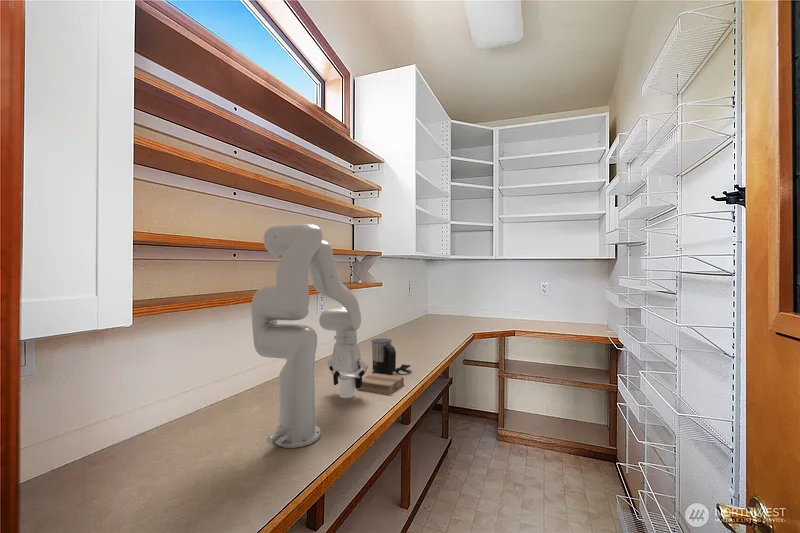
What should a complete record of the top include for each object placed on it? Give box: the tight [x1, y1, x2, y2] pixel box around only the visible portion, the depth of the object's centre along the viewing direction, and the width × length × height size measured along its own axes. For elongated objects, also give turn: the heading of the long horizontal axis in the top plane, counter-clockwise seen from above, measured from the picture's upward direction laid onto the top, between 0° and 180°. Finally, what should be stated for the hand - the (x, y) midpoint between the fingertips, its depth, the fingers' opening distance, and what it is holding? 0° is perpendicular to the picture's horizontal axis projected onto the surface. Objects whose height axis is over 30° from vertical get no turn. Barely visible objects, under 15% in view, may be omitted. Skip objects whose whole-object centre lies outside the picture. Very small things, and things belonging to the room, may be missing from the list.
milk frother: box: [371, 337, 411, 375], centre depth 161 cm, size 14×16×15 cm
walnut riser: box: [357, 372, 405, 395], centre depth 143 cm, size 12×14×3 cm
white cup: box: [337, 373, 357, 399], centre depth 134 cm, size 7×7×7 cm
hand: (347, 385), depth 135 cm, fingers open, 9 cm apart
